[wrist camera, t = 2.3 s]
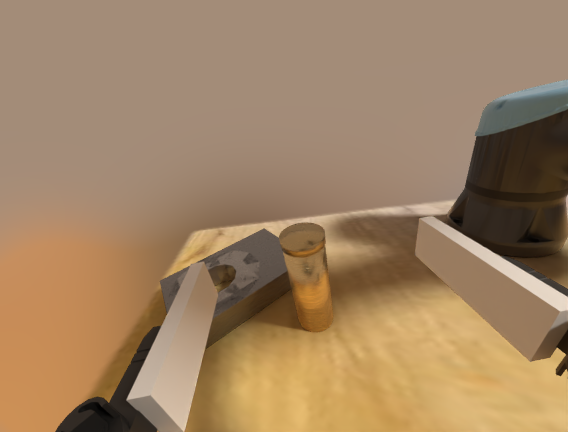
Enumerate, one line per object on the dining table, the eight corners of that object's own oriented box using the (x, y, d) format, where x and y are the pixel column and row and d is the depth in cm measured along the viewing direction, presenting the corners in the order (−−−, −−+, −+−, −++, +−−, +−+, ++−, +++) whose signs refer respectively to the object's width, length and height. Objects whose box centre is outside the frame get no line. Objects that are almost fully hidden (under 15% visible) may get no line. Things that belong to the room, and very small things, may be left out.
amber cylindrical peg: (316, 295, 33) (304, 218, 27) (341, 316, 29) (334, 232, 23) (290, 315, 31) (270, 236, 25) (314, 341, 27) (298, 254, 21)
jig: (268, 243, 49) (264, 228, 47) (311, 274, 37) (308, 257, 36) (169, 296, 39) (159, 280, 37) (186, 362, 28) (173, 344, 26)
